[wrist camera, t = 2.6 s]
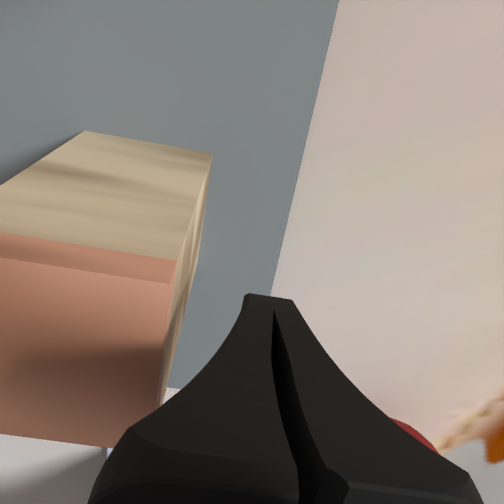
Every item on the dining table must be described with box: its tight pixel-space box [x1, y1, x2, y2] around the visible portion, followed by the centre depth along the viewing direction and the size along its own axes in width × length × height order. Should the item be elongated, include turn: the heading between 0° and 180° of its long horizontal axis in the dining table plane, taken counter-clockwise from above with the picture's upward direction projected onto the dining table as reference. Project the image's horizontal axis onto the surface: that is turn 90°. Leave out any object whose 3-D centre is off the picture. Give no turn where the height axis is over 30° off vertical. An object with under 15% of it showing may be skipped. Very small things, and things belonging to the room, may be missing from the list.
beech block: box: [0, 131, 213, 449], centre depth 15 cm, size 5×5×10 cm
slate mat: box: [0, 0, 339, 389], centre depth 19 cm, size 20×20×1 cm
